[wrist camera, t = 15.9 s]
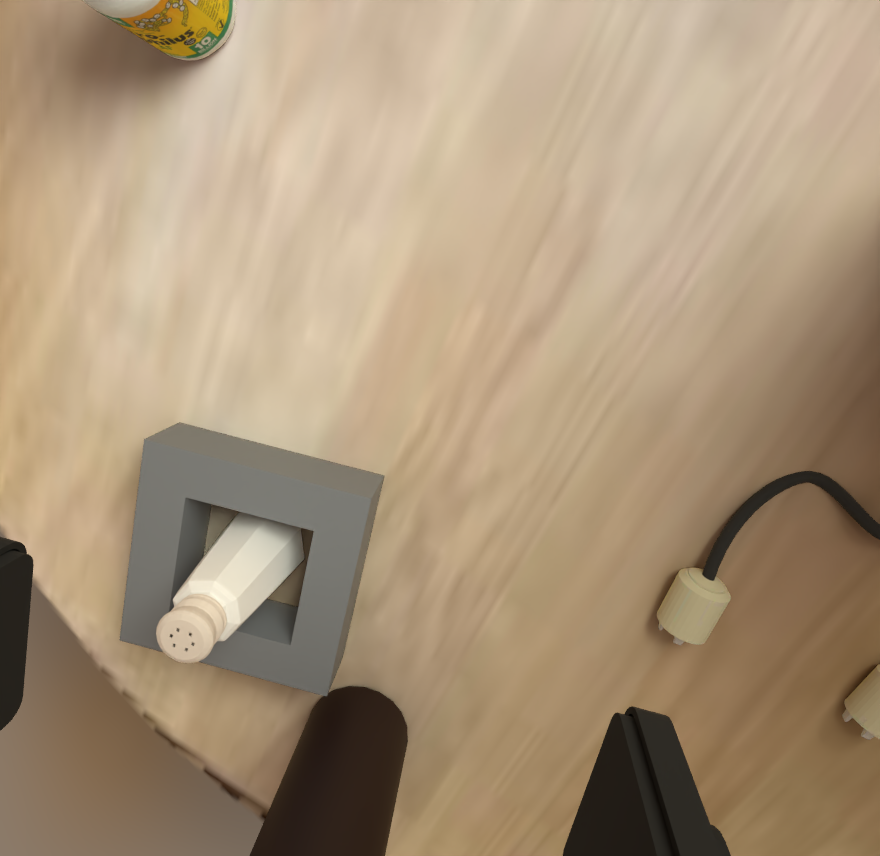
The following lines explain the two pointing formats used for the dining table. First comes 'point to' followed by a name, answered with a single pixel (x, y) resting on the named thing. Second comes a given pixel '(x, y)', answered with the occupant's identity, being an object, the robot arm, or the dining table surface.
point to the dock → (264, 495)
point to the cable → (706, 597)
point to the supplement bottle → (174, 23)
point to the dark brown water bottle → (339, 780)
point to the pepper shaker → (229, 585)
